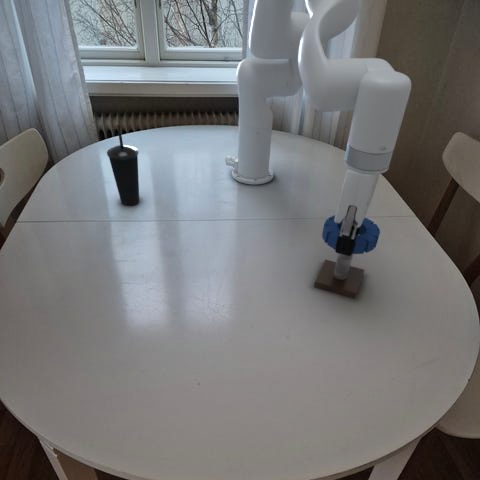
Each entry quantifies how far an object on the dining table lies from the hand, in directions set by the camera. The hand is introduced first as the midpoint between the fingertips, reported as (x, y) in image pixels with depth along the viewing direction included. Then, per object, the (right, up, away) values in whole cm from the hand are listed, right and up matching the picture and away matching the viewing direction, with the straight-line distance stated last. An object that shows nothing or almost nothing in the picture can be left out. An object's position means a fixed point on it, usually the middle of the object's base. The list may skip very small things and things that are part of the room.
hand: (345, 248), depth 84 cm
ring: (+2, +2, +3) cm, 4 cm away
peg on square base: (+1, -5, +10) cm, 12 cm away
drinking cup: (-50, +18, +33) cm, 63 cm away
